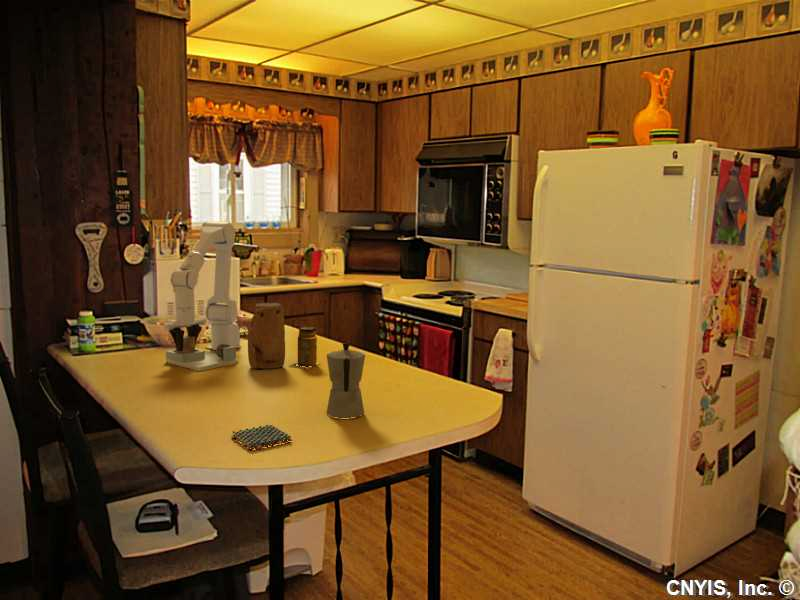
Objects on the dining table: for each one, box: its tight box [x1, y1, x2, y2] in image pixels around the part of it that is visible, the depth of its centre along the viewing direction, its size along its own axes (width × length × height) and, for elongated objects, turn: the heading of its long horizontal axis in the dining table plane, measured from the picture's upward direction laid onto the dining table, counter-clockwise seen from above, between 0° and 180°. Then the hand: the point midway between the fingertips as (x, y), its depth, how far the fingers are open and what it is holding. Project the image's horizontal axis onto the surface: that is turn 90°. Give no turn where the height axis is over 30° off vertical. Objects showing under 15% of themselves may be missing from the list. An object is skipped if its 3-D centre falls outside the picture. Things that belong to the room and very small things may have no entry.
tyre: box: [215, 344, 231, 358], centre depth 218 cm, size 4×2×4 cm, turn 143°
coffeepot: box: [326, 342, 366, 418], centre depth 166 cm, size 15×9×18 cm, turn 6°
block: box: [247, 302, 286, 370], centre depth 212 cm, size 11×8×20 cm
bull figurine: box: [236, 311, 252, 338], centre depth 263 cm, size 4×13×8 cm, turn 40°
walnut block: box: [175, 334, 196, 354], centre depth 217 cm, size 4×4×6 cm
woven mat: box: [231, 424, 293, 450], centre depth 149 cm, size 10×11×2 cm
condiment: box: [288, 326, 318, 370], centre depth 217 cm, size 7×8×12 cm
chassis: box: [165, 346, 239, 372], centre depth 217 cm, size 15×17×5 cm
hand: (185, 349), depth 217 cm, fingers closed on walnut block, 4 cm apart
